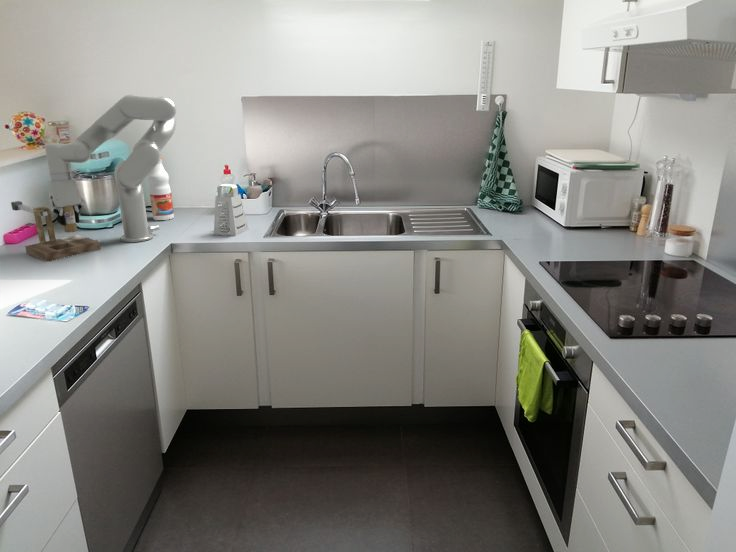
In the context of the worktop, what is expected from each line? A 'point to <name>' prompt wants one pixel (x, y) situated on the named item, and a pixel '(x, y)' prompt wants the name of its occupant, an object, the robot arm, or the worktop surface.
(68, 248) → the brown wooden frame
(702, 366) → the worktop surface
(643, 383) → the worktop surface
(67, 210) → the sprinkles bottle
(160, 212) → the fruit juice
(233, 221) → the grater
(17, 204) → the bolt
